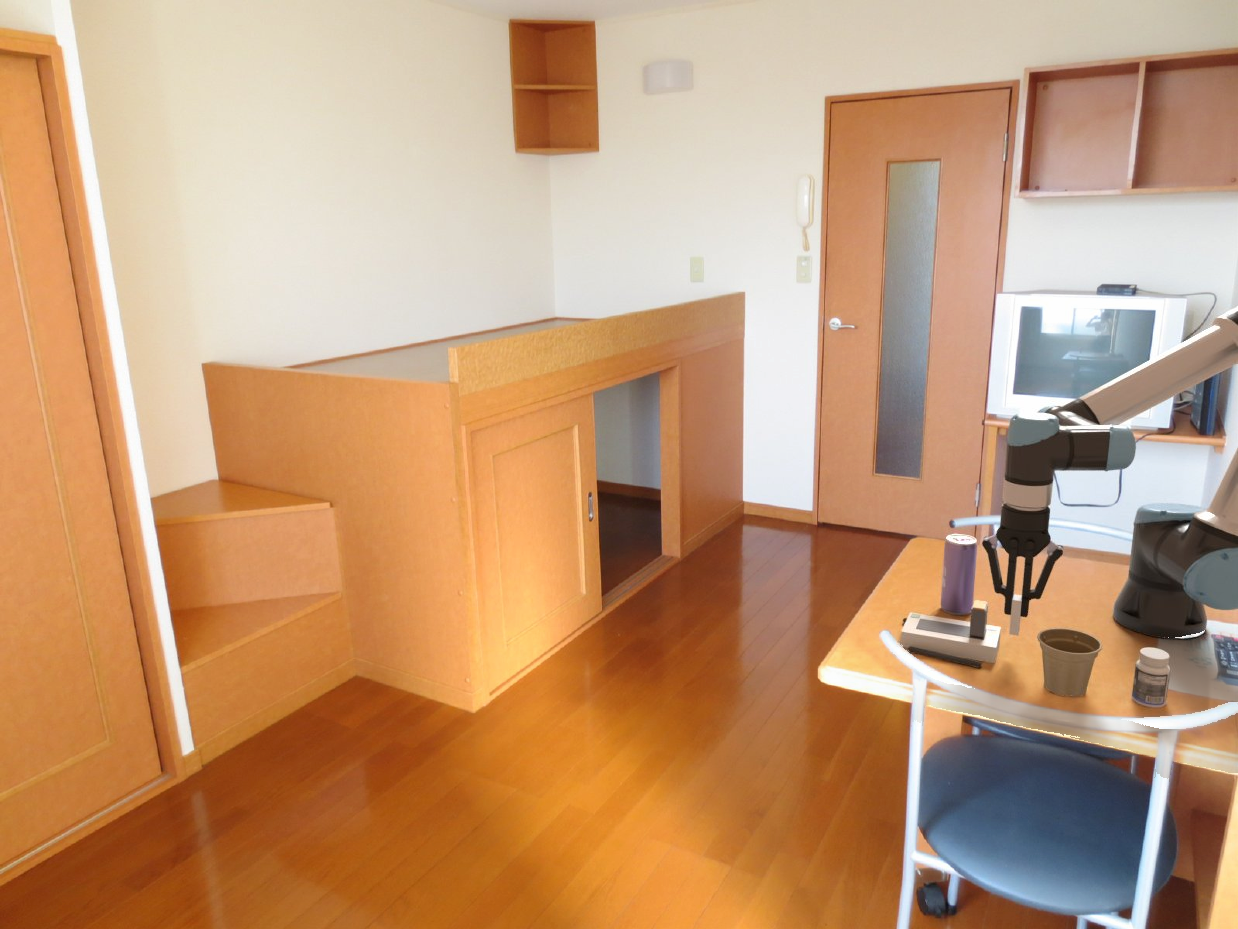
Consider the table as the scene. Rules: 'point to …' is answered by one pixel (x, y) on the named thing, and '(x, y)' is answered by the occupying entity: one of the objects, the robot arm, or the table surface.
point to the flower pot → (1068, 660)
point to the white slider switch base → (950, 637)
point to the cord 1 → (945, 657)
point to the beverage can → (958, 574)
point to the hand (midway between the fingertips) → (1014, 631)
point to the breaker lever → (978, 618)
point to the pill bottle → (1151, 678)
